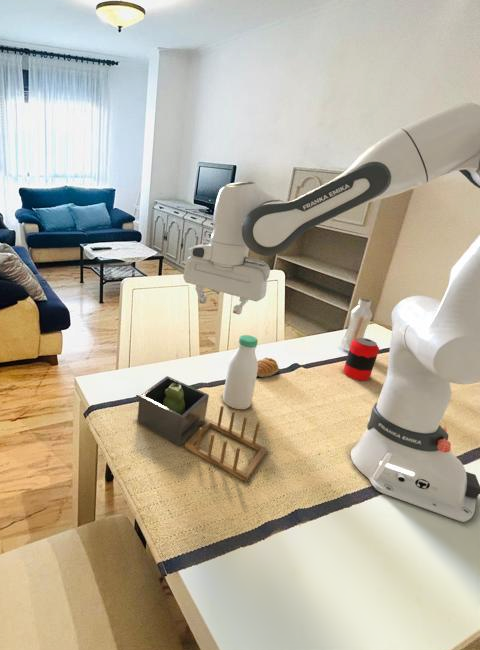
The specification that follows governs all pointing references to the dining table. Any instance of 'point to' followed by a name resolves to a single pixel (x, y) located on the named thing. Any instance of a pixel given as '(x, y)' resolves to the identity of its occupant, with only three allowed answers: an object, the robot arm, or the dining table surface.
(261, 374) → the pastry
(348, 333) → the plastic bottle
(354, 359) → the soda can
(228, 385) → the milk bottle
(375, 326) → the dining table surface
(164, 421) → the dark grey open box
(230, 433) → the drying rack
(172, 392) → the pear
